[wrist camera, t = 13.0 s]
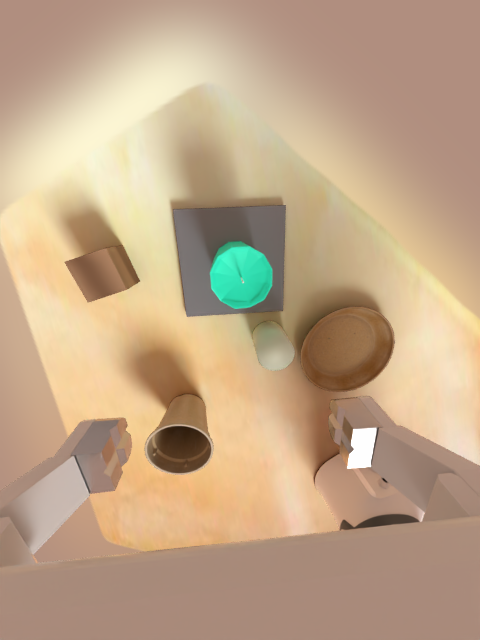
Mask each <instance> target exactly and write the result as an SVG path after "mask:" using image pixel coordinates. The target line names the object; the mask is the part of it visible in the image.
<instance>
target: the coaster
mask: <svg viewBox="0 0 480 640" xmlns="http://www.w3.org/2000/svg"><path fill="white" fill-rule="evenodd" d="M285 210H286V205H278V206H251V207H225V208H199V209H173V214H174V222H175V229H176V237H177V245H178V253H179V260H180V268H181V276H182V284H183V292H184V299H185V307H186V315H187V317H190V316H206V315H222V314H238V313H255V312H271V311H283V288H284V249H285ZM236 241H241V242H243V243H245V244H246V245H248V246H250V247H252V248H254V249H255V250H257V251H259V252H261V253H262V254H264V255H265V257H266V259H267V261H268V262H269V264H270V266H271V268H272V287H271V289H270V290H269V292H268V294H267V296H266V298H265V299H264V300H263V301H261V302H259V303H257V304H255V305H254V306H252V307H248V308H238V309H234V308H232V307H230V306H229V305H227V304H225V303H223V302H221V301H220V300H219V298H218V297H217V296H216V294H215V293H214V292H213V290H212V289H211V279H210V270H211V267H212V263H213V260H214V258H215V256H216V253H217V251H218V249H219V248H220V247H222V246H223V245H225V244H226V243H228V242H236Z"/></svg>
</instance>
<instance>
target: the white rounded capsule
mask: <svg viewBox="0 0 480 640" xmlns="http://www.w3.org/2000/svg"><path fill="white" fill-rule="evenodd" d="M252 339H253V343H254V346H255V350H256V354H257V357H258V361H259V363H260V364H261V365H262V366H263V367H264V368H265V369H268V370H271V371H277V370H281V369H284V368H286V367H287V366H288V365H289V364H290V363H291V362H292V361H293V358H294V355H295V350H294V347H293V345H292V343H291V342H290V340H289V338H288V337H287V335H286V334H285V332H284V330H283V329H282V327H281V326H280V325H279V324H278V323H276V322H273V321H265V322H262V323H260V324H259V325H258V326H256V328H255V329H254V331H253V334H252Z"/></svg>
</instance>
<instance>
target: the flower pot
mask: <svg viewBox="0 0 480 640" xmlns="http://www.w3.org/2000/svg"><path fill="white" fill-rule="evenodd" d="M213 450H214V448H213V442H212V439H211V438H210V435H209V433H208V427H207V417H206V407H205V404H204V402H203V401H202V399H200V398H199V397H197V396H195V395H191V394H184V395H182V396H178V397H176V398H174V399H173V400H172V402H171V403H170V405H169V407H168V409H167V411H166V413H165V415H164V417H163V419H162V421H161V422H160V424H159V426H158V427H157V428H156V429H155V431H154V432H152V433H151V435H150V436H149V437H148V439H147V441H146V443H145V455H146V458H147V459H148V461H149V463H150V464H151V465H153V466H154V467H155V468H156V469H159V470H160V471H162V472H165V473H169V474H175V475H184V474H190V473H194V472H196V471H198V470H201V469H202V468H203V467H205V466H206V465H207V464H208V463H209V461H210V460H211V458H212V455H213Z"/></svg>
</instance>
